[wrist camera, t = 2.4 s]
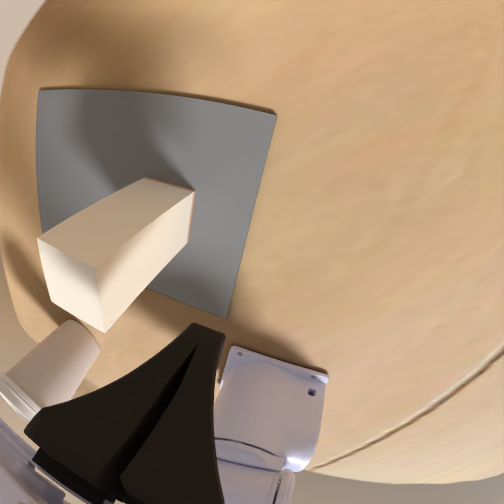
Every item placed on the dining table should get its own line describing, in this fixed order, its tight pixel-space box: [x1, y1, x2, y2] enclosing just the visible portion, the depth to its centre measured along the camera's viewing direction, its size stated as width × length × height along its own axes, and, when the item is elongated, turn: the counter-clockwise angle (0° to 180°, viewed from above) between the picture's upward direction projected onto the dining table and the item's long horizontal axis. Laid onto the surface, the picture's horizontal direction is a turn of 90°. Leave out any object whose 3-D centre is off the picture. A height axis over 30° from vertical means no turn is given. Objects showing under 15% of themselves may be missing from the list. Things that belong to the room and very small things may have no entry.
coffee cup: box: [0, 319, 100, 423], centre depth 27 cm, size 10×10×15 cm
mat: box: [36, 89, 277, 319], centre depth 21 cm, size 22×16×1 cm
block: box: [37, 177, 195, 333], centre depth 16 cm, size 4×4×10 cm
